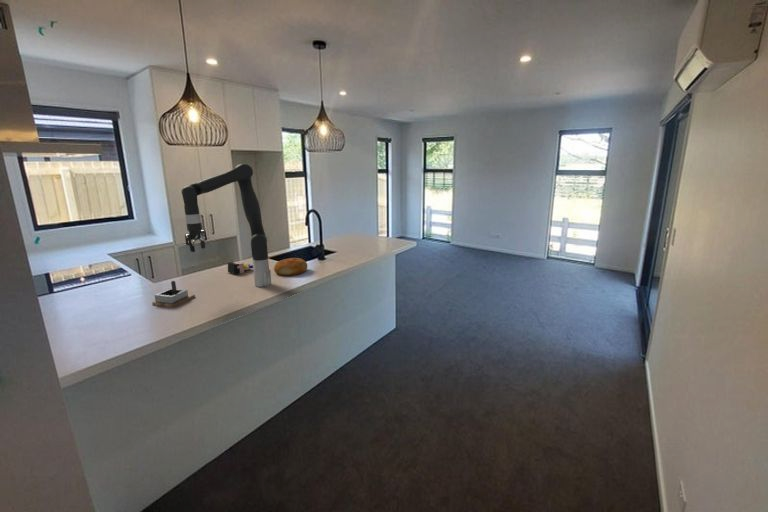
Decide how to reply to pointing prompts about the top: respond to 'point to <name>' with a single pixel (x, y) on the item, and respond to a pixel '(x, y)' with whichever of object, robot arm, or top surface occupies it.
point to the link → (171, 296)
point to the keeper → (173, 294)
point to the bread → (290, 266)
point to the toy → (238, 267)
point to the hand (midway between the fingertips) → (198, 250)
